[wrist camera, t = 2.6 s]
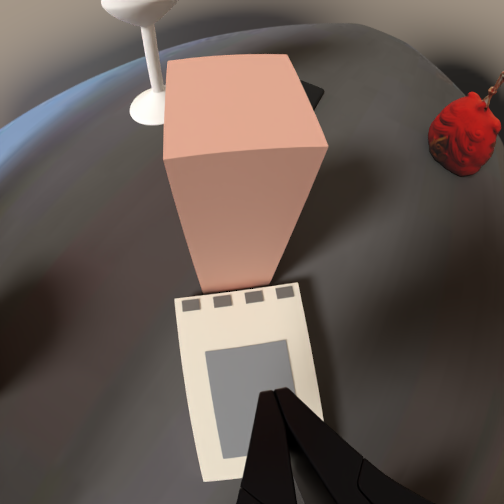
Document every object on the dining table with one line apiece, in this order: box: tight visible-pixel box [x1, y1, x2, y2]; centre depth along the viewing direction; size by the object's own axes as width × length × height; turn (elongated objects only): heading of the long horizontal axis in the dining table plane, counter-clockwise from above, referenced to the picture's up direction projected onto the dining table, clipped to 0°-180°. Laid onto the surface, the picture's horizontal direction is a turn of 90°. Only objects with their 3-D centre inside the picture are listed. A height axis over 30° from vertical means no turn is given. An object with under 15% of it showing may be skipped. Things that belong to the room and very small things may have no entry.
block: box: [163, 54, 328, 294], centre depth 15 cm, size 5×5×14 cm
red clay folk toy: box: [428, 71, 504, 176], centre depth 21 cm, size 8×7×15 cm
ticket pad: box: [175, 282, 324, 482], centre depth 18 cm, size 12×8×2 cm, turn 9°
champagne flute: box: [101, 0, 178, 125], centre depth 16 cm, size 7×7×24 cm
